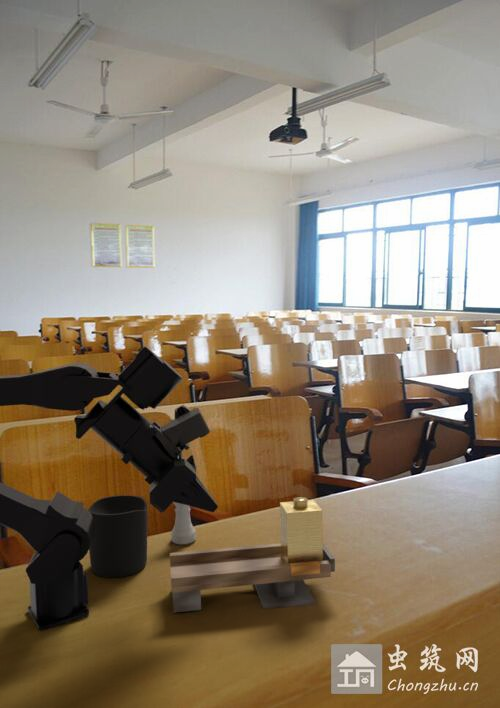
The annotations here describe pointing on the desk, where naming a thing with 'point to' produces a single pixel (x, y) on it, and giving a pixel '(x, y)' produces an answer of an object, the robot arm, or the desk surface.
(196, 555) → the balance beam
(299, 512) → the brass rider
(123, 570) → the pen holder
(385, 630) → the desk surface
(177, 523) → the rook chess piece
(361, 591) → the desk surface
